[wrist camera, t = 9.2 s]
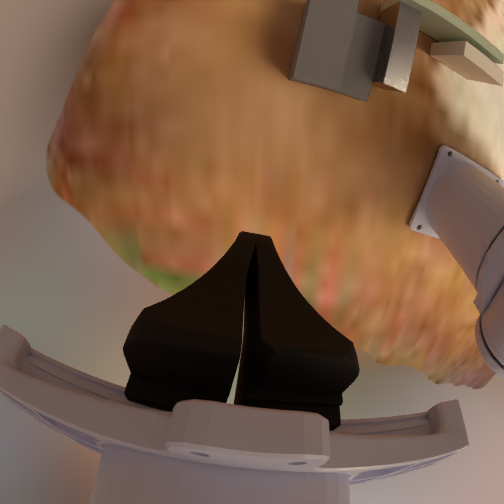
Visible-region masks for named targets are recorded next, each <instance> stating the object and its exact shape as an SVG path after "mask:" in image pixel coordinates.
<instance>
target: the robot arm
mask: <svg viewBox="0 0 504 504" xmlns="http://www.w3.org/2000/svg"><path fill="white" fill-rule="evenodd" d="M449 151H450V154H449V155H448V152H449ZM418 225H420V226H419V227H418V228H417V226H418ZM409 228H410V229H411V230H412V231H415V232H419V233H422V234H425V235H429V236H432V237H435V238H438V239H441V241H442V242H443V243H444V244H445V246H446V247H447V248H448V250H449V251H450V252H451V254H452V255H453V257H454V258H455V259H456V261H457V262H458V264H459V265H460V266H461V268H462V269H463V271H464V272H465V274H466V275H467V277H468V278H469V280H470V281H471V283H472V284H473V286H474V288H475V289H476V291H477V296H476V299H475V300H474V304H475V305H476V307H477V309H478V311H479V313H480V315H479V317H478V319H477V321H476V325H475V338H476V342H477V345H478V348H479V351H480V353H481V355H482V357H483V359H484V361H485V362H486V364H487V365H488V366H489V367H490V368H491V369H492V370H493V371H494V372H495V373H496V374H498V375H499V376H501V377H503V378H504V181H503V180H502V179H500V178H499V177H497V176H496V175H494V174H493V173H491V172H490V171H488V170H487V169H485V168H484V167H482V166H481V165H479V164H477V163H476V162H474V161H473V160H471V159H469V158H468V157H466V156H464V155H462V154H461V153H459V152H457V151H455V150H454V149H452V148H450V147H448V146H446V145H442V146H440V148H439V151H438V154H437V157H436V159H435V162H434V165H433V168H432V170H431V173H430V175H429V178H428V181H427V183H426V186H425V188H424V190H423V193H422V195H421V198H420V200H419V202H418V204H417V207H416V209H415V211H414V213H413V216H412V218H411V220H410V222H409ZM244 298H245V309H244ZM243 311H244V335H243V345H242V328H243ZM241 345H242V352H241ZM123 352H124V356H125V358H126V361H127V364H128V366H129V369H130V372H131V375H130V377H129V380H128V383H127V386H126V388H125V387H122V386H119V385H116V384H113V383H110V382H107V381H104V380H102V379H99V378H96V377H94V376H91V375H89V374H86V373H84V372H81V371H79V370H77V369H74V368H72V367H70V366H67V365H65V364H63V363H60V362H58V361H56V360H54V359H52V358H50V357H47V356H46V355H44V354H42V353H40V352H38V351H36V350H34V349H32V348H31V347H30V344H29V343H28V341H27V340H26V339H25V338H24V337H23V336H22V335H21V334H20V333H18V332H16V331H15V330H13V329H11V328H9V327H8V326H6V325H3V326H2V328H1V329H0V394H1V395H2V396H3V397H4V398H5V399H7V400H8V401H9V402H11V403H12V404H14V405H15V406H16V407H18V408H19V409H21V410H22V411H24V412H25V413H27V414H28V415H30V416H31V417H33V418H35V419H36V420H38V421H39V422H41V423H43V424H44V425H46V426H48V427H50V428H51V429H53V430H55V431H56V432H58V433H60V434H62V435H63V436H66V437H67V438H69V439H71V440H73V441H75V442H77V443H79V444H81V445H83V446H85V447H87V448H89V449H92V450H94V451H96V452H98V453H101V454H102V456H101V459H100V463H99V467H98V471H97V475H96V478H95V482H94V486H93V491H92V495H91V499H90V504H349V485H353V484H359V483H364V482H370V481H374V480H379V479H383V478H388V477H392V476H396V475H400V474H403V473H407V472H410V471H414V470H417V469H420V468H423V467H427V466H430V465H433V464H435V463H437V462H439V461H442V460H444V459H446V458H448V457H450V456H452V455H454V454H456V453H458V452H460V451H462V450H464V449H466V448H468V446H469V443H468V438H467V433H466V429H465V424H464V421H463V417H462V413H461V409H460V405H459V402H458V400H451V401H445V402H441V403H439V404H437V405H435V406H433V407H432V408H431V409H429V410H428V411H427V412H422V413H416V414H409V415H401V416H392V417H382V418H369V419H349V420H348V419H347V420H341V419H340V407H339V406H340V405H342V403H343V399H342V393H343V392H344V391H345V390H346V389H347V388H348V387H349V386H350V385H351V384H352V383H353V382H354V381H355V379H356V378H357V376H358V375H359V364H358V359H357V354H356V351H355V348H354V345H353V342H352V341H350V340H349V339H348V338H346V337H345V336H344V335H342V334H341V333H340V332H338V331H337V330H336V329H335V328H333V327H332V326H331V325H330V324H329V323H328V322H327V321H326V320H325V319H323V318H322V317H321V316H320V315H319V314H318V313H317V312H316V311H315V309H314V308H313V307H312V306H311V305H310V304H309V303H308V302H307V301H306V299H305V298H304V297H303V296H302V294H301V293H300V292H299V290H298V289H297V288H296V286H295V285H294V283H293V281H292V280H291V278H290V277H289V275H288V273H287V271H286V270H285V268H284V266H283V264H282V262H281V260H280V258H279V256H278V253H277V251H276V249H275V246H274V244H273V241H272V239H271V237H270V236H265V235H260V234H255V233H249V232H244V231H242V232H240V233H239V235H238V237H237V239H236V240H235V242H234V243H233V245H232V246H231V247H230V248H229V250H228V251H227V252H226V253H225V255H224V256H223V257H222V258H221V259H220V260H219V261H218V262H217V263H216V264H215V265H214V266H213V267H212V268H211V269H210V270H209V271H208V272H206V273H205V274H204V275H203V276H202V277H200V278H199V279H198V280H196V281H195V282H194V283H192V284H191V285H189V286H188V287H186V288H185V289H183V290H182V291H180V292H178V293H176V294H175V295H173V296H171V297H169V298H167V299H166V300H164V301H161V302H159V303H156V304H154V305H152V306H149V307H146V308H144V309H143V311H142V312H141V313H140V315H139V316H138V318H137V319H136V321H135V322H134V324H133V325H132V327H131V329H130V331H129V334H128V336H127V339H126V341H125V343H124V346H123ZM240 354H241V359H240ZM239 359H240V366H239V372H238V379H237V386H236V393H235V399H234V404H228V403H226V402H227V399H228V396H229V394H230V390H231V387H232V383H233V380H234V377H235V373H236V370H237V366H238V363H239Z"/></svg>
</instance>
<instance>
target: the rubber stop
mask: <svg viewBox="0 0 504 504" xmlns="http://www.w3.org/2000/svg"><path fill="white" fill-rule="evenodd" d="M358 5H359V0H307V2H306V4H305V7H304V11H303V16H302V20H301V25H300V29H299V34H298V38H297V43H296V48H295V52H294V57H293V61H292V66H291V70H290V75H289V79H288V80H292V81H296V82H300V83H304V84H308V85H312V86H316V87H320V88H323V89H327V90H330V91H334V92H337V93H340V94H343V95H346V96H349V97H352V98H355V99H358V100H362V101H366V102H367V100H368V96H369V92H370V88H371V84H372V80H373V76H374V72H375V68H376V64H377V59H378V55H379V50H380V46H381V41H382V36H383V31H384V26H385V23H383V22H380V21H378V20H375V19H373V18H370V17H368V16H365V15H363V14H360V13H357V10H358Z"/></svg>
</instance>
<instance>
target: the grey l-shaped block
mask: <svg viewBox="0 0 504 504" xmlns="http://www.w3.org/2000/svg"><path fill="white" fill-rule="evenodd" d="M378 21H380V22H383V23H385V26H384V31H383V36H382V41H381V46H380V50H379V55H378V59H377V64H376V68H375V72H374V76H373V80H372V85H375V86H377V87H380V88H382V89H386V90H393V91H399V92H405V93H406V89H407V85H408V81H409V77H410V73H411V68H412V64H413V59H414V55H415V50H416V45H417V39H418V34H419V30H420V31H422V32H424V33H425V34H427V35H429V36H431V37H432V38H434V39H436V40H437V41H439V42H450V41H467V42H468V43H470V44H471V45H472V46H474V47H475V48H476V49H478V50H479V51H480V52H481V53H483V54H484V55H485V56H486V57H488V58H489V59H490V60H491V61H492V62H494V63H500V64H503V61H504V54H503V53H502V52H501V51H500V50H498V49H497V48H496V47H495V46H494V45H493V44H492V43H490V42H489V41H488V40H487V39H486V38H484V37H483V36H482V35H481V34H480V33H478V32H477V31H476V30H474V29H473V28H472V27H470V26H469V25H468V24H466V23H465V22H464V21H462V20H461V19H459V18H458V17H457V16H455V15H454V14H452V13H451V12H449V11H448V10H446V9H444V8H443V7H441V6H440V5H438V4H436V3H435V2H433V1H431V0H386V1H384V2H382V3H381V9H380V14H379V19H378Z"/></svg>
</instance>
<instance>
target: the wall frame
mask: <svg viewBox="0 0 504 504" xmlns="http://www.w3.org/2000/svg"><path fill="white" fill-rule="evenodd" d="M429 56H431V57H433V58H434V59H436V60H438V61H440V62H441V63H443V64H444V65H446V66H448V67H449V68H451V69H452V70H454V71H455V72H457V73H458V74H460V75H461V76H463V77H464V78H466V79H468V80H474V81H480V82H485V83H490V84H494V85H499V86H503V80H504V71H503V70H501V69H500V68H499V67H498V66H497V65H496V64H495V63H494V62H492V61H491V60H490V59H489V58H488V57H486V56H485V55H484V54H483V53H481V52H480V51H479V50H478V49H476V48H475V47H474V46H472V45H471V44H470V43H468V42H467V41H450V42H437V43H432V44H431V50H430V55H429Z"/></svg>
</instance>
